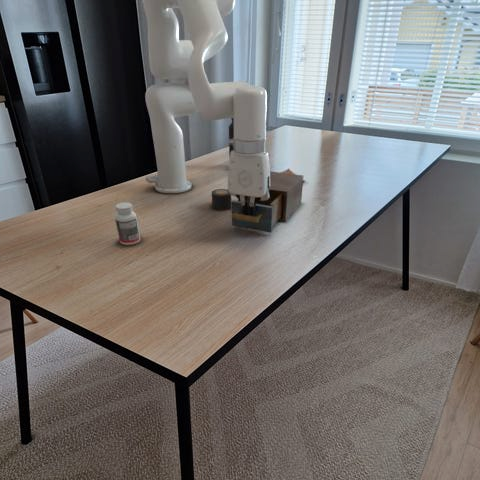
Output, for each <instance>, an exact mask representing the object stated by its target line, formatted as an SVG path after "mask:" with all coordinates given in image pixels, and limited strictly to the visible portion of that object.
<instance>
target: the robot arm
mask: <svg viewBox="0 0 480 480" xmlns="http://www.w3.org/2000/svg"><path fill="white" fill-rule="evenodd" d="M141 2H142V6H143V10H144V13H145V19H146V25H147V47H148V64H149V70H150V73H151V75H152V77H154V78H155V79H159V80H179V79H182V81H172V82H171V81H170V82H160V83H155V84H152V85H150V86H149V87H148V88H147V89H146V91H145V94H144V98H145V106H146V108H147V113H148V116H149V120H150V124H151V130H152V138H153V145H154V153H155V162H156V169H157V174H155V175H145V181H146V182H148V184H154V189H155V191H157V192H158V193H161V194H181V193H185V192H187V191H189V190H191V189H192V187H193V186H192V182H191V181H190V180H188V178H187V168H186V167H187V166H186V155H185V145H184V134H183V131H182V127H180V125H179V124H178V123H177V122H176V120H175V118H179V117H186V116H194V115H197V114H198V113H199V114H200V115H201V116H202V117H203V118H204V119H205V120H208V121H219V120H226V119H232V118H234V138H233V139H229V138H228V146H229V145H232V146H233V149H234V150H233V151H231V153H230V159H228V168H227V190H228V191H229V194H230V195H231V197H235V198H236V199H237V201H238V200H239V201H240V202H241V205H242V206H243V215H249V216H255V210H256V203H258V202H259V201H264V200H268V199H269V198H270V196H269V190H270V171H271V166H270V159H269V152H268V151H266V143H267V142H266V140H267V138H266V137H267V108H268V106H267V105H268V102H267V101H268V94H267V90H266V89H265V88H264V87H262V86H260V85H252V84H250V83H248V82H246V81H243V80H242V81H241V80H240V81H225V82H224V81H223V82H212V83H210V82H209V79H208V76H207V74H206V71H205V67H204V63H206V61H208V60H210V59H211V58H213V57H214V56H216V55H217V54H218V53H220V52H221V50H223V48H224V47H225V46H226V44H227V42H228V32H227V29H226V26H225V24H224V21H223V18H222V17H226V16H228V15H231V13H232V12H233V10H234V8H235V5H236V0H141ZM174 9H179V11H180V14H181V16H182V20H183V22H184V24H185V25H184V26H185V27H186V31H187V34H188V36H189V39H180V25H179V24H180V23H179V19H178V17H177V16H176V13H175V12H174ZM249 196H250V202H249Z"/></svg>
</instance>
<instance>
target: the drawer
mask: <svg viewBox="0 0 480 480" xmlns="http://www.w3.org/2000/svg"><path fill="white" fill-rule="evenodd" d="M269 196H270V198H269V199H268V200H264V201H259V202H258V203H256V210H255V216H249V215H243V206H242V205H241V202H240V201H239V200H238V199H237V200H235V199H233V200H231V227H237V228H242V229H248V230H254V231H259V232H265V233H269V234H271V233H272V232H273V229H274V228H273V227H274V225H275V224H277V222H279V221H278V220H279V219H280V217H281V216H282V215H283V205H284V194H277V193H270V192H269ZM249 202H250V196H249Z"/></svg>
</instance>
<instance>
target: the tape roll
mask: <svg viewBox="0 0 480 480" xmlns="http://www.w3.org/2000/svg"><path fill="white" fill-rule="evenodd" d="M211 206H212V208H213V209H214V210H218V211H226V210H229V209H232V195H230V194H229V191H228V188H227V189H226V188H217V189H214V190H212V191H211Z"/></svg>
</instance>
